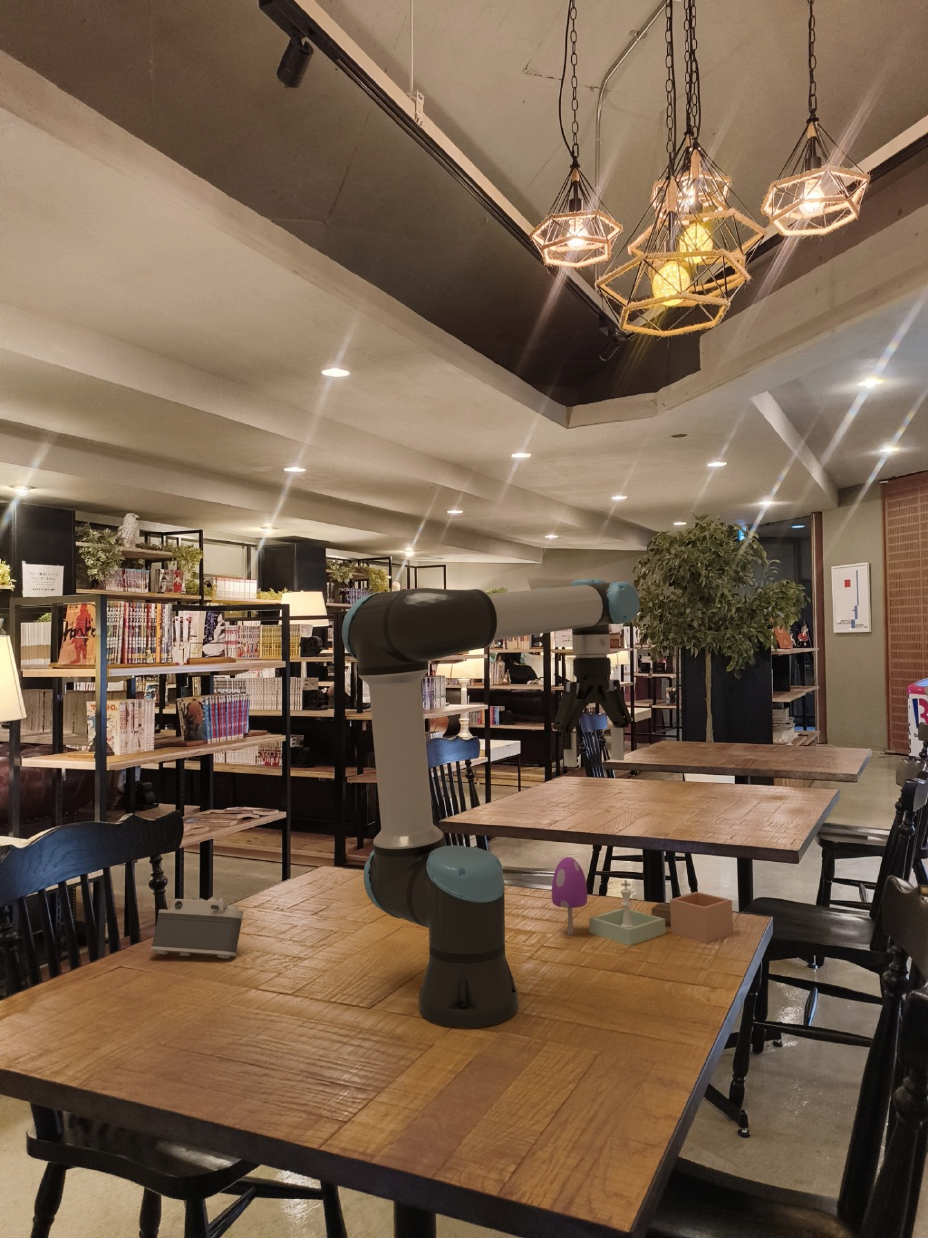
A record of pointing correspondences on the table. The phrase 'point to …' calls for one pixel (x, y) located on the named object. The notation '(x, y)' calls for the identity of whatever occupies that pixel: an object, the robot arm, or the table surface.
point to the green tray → (611, 928)
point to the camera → (198, 928)
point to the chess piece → (626, 905)
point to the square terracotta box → (701, 917)
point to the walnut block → (662, 913)
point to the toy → (569, 887)
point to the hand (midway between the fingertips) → (594, 763)
